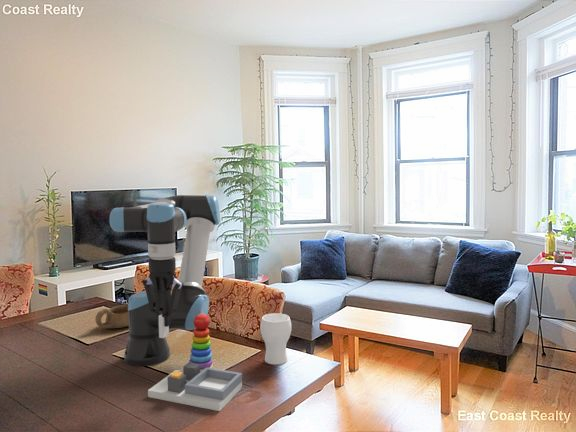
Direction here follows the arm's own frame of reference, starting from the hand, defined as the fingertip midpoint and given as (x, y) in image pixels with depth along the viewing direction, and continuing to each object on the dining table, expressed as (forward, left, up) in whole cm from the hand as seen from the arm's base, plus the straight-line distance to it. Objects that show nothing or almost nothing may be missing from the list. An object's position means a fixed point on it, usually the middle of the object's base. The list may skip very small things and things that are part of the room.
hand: (164, 336), depth 128 cm
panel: (+10, +1, -16) cm, 19 cm away
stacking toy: (+4, +14, -16) cm, 22 cm away
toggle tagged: (+6, -3, -14) cm, 15 cm away
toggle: (+6, +5, -14) cm, 16 cm away
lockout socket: (+15, +2, -14) cm, 21 cm away
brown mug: (-50, +39, -16) cm, 66 cm away
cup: (+24, +30, -16) cm, 42 cm away
